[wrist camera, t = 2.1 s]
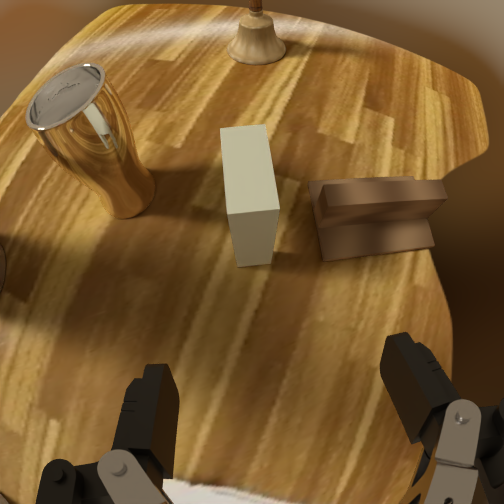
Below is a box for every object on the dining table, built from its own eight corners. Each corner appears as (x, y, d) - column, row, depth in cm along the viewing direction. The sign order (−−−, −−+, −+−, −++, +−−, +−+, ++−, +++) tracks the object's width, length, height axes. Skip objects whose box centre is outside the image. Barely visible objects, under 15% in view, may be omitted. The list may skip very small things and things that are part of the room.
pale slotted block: (271, 263, 29) (279, 208, 18) (237, 267, 28) (227, 214, 18) (262, 199, 31) (265, 124, 20) (230, 202, 30) (220, 128, 20)
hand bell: (258, 72, 37) (259, -35, 21) (215, 51, 38) (204, -45, 23) (297, 49, 38) (307, -46, 23) (254, 29, 40) (253, -58, 25)
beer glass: (115, 160, 32) (57, 63, 18) (169, 169, 32) (125, 58, 18) (89, 215, 30) (7, 131, 16) (145, 229, 30) (72, 134, 15)
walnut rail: (322, 261, 29) (335, 242, 24) (307, 184, 31) (315, 154, 26) (432, 247, 29) (457, 228, 24) (411, 179, 31) (430, 153, 26)
